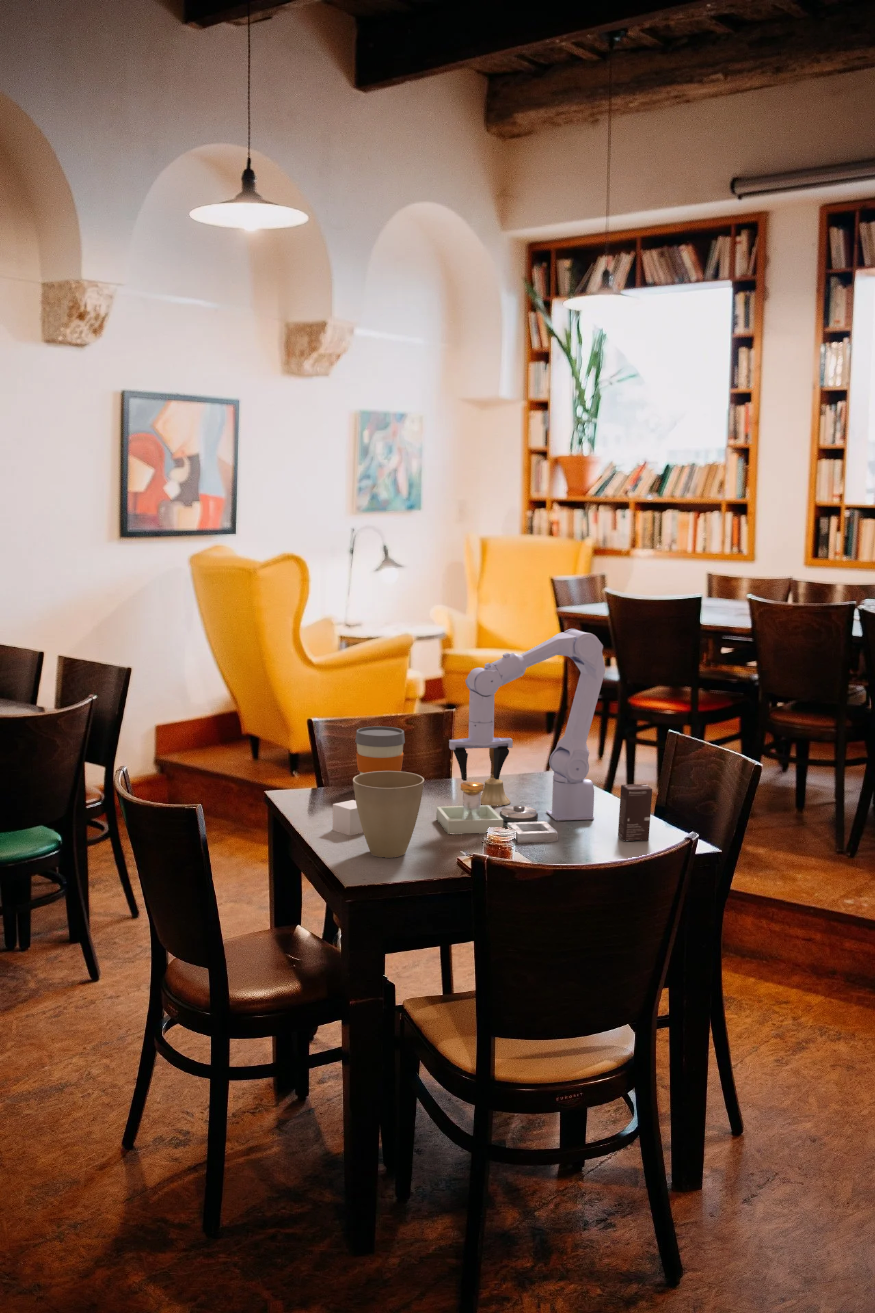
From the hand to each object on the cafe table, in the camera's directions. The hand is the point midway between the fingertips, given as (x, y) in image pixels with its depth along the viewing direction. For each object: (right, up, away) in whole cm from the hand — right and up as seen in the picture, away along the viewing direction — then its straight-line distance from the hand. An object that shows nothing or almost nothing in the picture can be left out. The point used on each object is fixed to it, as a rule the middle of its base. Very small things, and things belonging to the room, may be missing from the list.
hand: (480, 779), depth 281 cm
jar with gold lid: (-2, -10, -2) cm, 10 cm away
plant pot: (-20, -13, -24) cm, 34 cm away
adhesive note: (-29, -11, -7) cm, 32 cm away
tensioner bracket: (+10, -11, -4) cm, 15 cm away
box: (+34, -13, -9) cm, 37 cm away
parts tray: (-3, -11, -2) cm, 11 cm away
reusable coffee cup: (-25, -6, +31) cm, 40 cm away
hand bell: (+4, -8, +20) cm, 22 cm away
